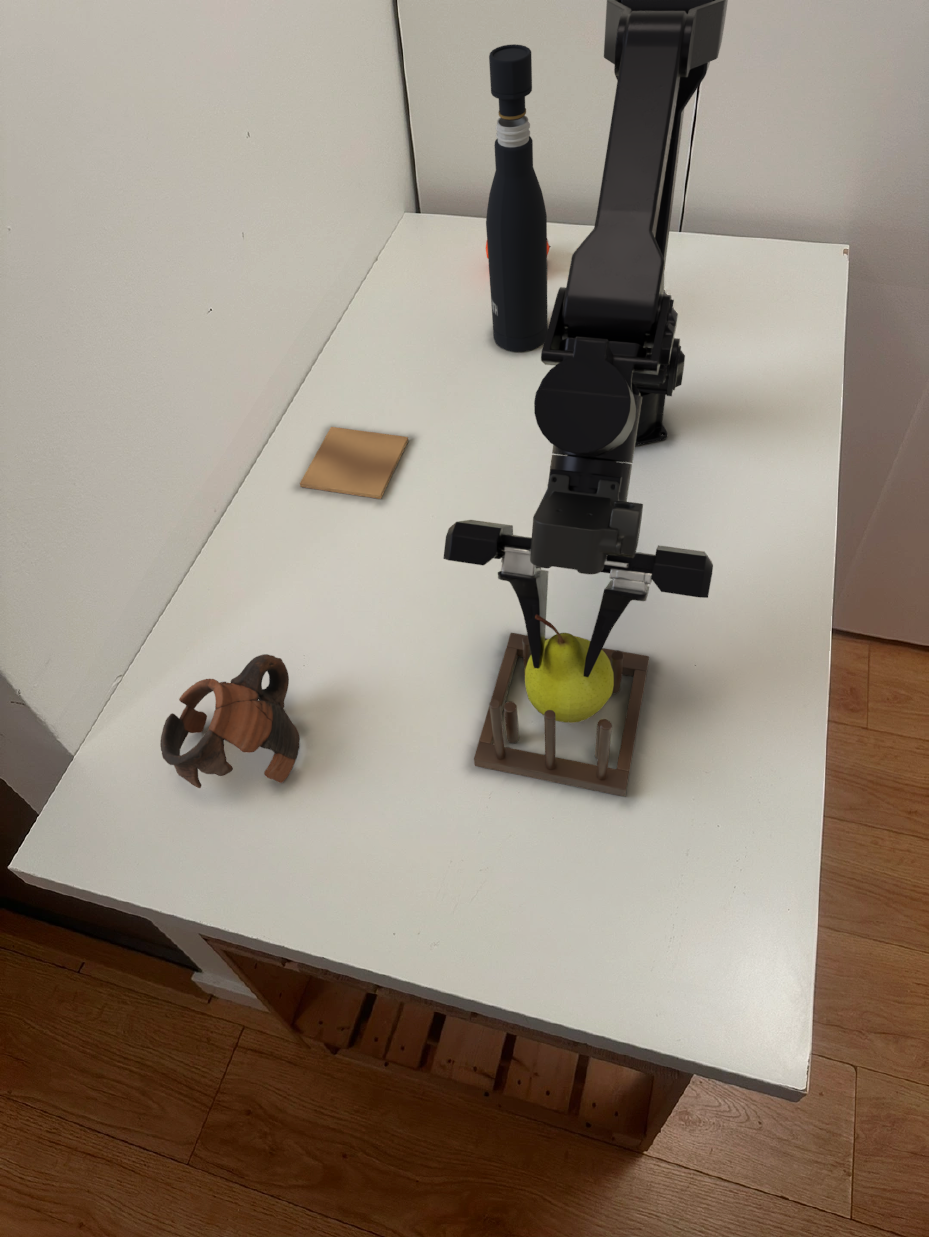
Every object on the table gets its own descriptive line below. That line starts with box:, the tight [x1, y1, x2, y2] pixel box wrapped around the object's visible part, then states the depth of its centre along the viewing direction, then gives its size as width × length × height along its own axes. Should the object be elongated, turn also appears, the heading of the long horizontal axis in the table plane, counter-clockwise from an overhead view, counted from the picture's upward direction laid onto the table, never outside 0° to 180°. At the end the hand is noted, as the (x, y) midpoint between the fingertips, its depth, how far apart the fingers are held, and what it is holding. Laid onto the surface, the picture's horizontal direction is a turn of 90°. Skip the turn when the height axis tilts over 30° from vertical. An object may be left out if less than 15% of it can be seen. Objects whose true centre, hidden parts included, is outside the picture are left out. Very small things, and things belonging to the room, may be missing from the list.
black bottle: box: [485, 44, 549, 353], centre depth 90 cm, size 6×6×30 cm
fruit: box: [524, 615, 614, 724], centre depth 66 cm, size 7×7×12 cm
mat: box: [299, 426, 410, 500], centre depth 91 cm, size 9×9×1 cm
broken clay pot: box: [159, 653, 301, 789], centre depth 70 cm, size 12×10×8 cm
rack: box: [473, 632, 650, 798], centre depth 68 cm, size 13×12×9 cm
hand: (561, 671), depth 64 cm, fingers closed on fruit, 3 cm apart
